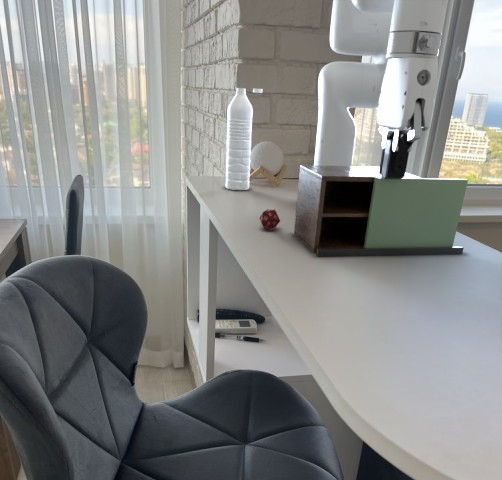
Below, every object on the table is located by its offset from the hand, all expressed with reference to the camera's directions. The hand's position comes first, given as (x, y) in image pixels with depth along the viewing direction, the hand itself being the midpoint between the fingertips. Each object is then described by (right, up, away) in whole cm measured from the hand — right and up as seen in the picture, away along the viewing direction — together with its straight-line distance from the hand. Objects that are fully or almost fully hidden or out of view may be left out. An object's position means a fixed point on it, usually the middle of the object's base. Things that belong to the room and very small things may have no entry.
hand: (391, 175), depth 83 cm
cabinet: (0, -9, +12) cm, 15 cm away
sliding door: (+5, -11, +7) cm, 14 cm away
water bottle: (-26, +14, +56) cm, 63 cm away
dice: (-20, -6, +18) cm, 27 cm away
